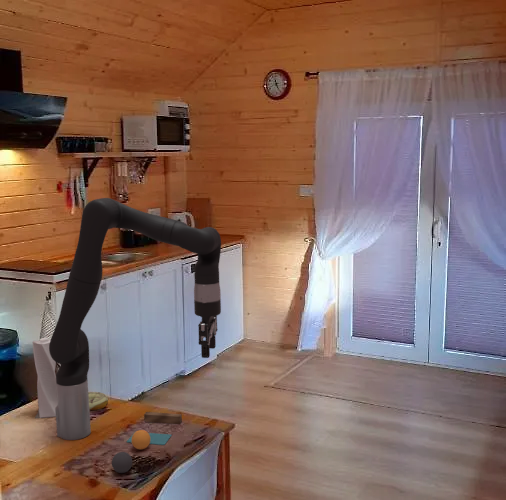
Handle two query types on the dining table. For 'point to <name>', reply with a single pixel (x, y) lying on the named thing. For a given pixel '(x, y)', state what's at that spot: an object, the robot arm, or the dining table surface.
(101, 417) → the dining table surface
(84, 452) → the dining table surface
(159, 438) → the teal mark
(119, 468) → the gray ball
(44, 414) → the skyscraper
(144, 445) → the orange ball
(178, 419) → the walnut strip
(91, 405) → the decorated donut
